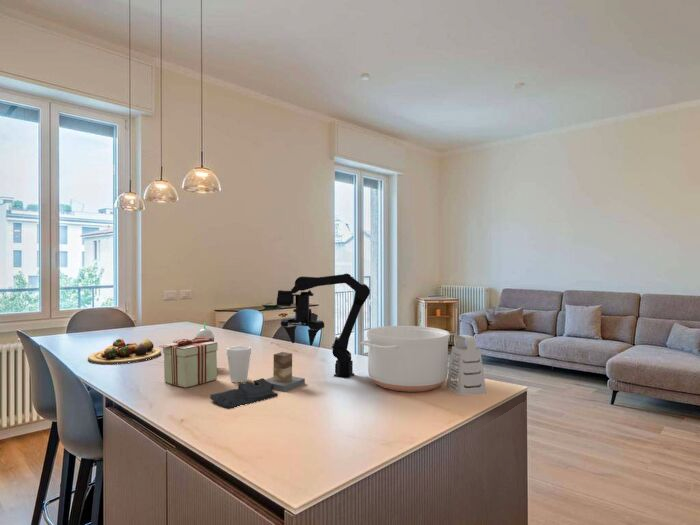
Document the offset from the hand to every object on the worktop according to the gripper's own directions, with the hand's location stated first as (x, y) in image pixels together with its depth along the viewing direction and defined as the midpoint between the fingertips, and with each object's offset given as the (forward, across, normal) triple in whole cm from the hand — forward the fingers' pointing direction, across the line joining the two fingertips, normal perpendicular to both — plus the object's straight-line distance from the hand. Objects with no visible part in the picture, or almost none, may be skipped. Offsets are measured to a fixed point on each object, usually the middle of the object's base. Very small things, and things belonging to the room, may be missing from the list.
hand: (302, 344), depth 179 cm
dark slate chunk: (+14, 0, +33) cm, 36 cm away
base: (+13, -2, +15) cm, 20 cm away
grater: (+13, -64, -15) cm, 67 cm away
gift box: (+13, +34, +30) cm, 47 cm away
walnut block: (+6, -2, +15) cm, 16 cm away
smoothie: (+13, +46, +11) cm, 49 cm away
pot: (+13, -42, -12) cm, 46 cm away
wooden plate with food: (+14, +96, +17) cm, 98 cm away
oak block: (+11, -2, +15) cm, 19 cm away
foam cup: (+13, +17, +19) cm, 29 cm away
